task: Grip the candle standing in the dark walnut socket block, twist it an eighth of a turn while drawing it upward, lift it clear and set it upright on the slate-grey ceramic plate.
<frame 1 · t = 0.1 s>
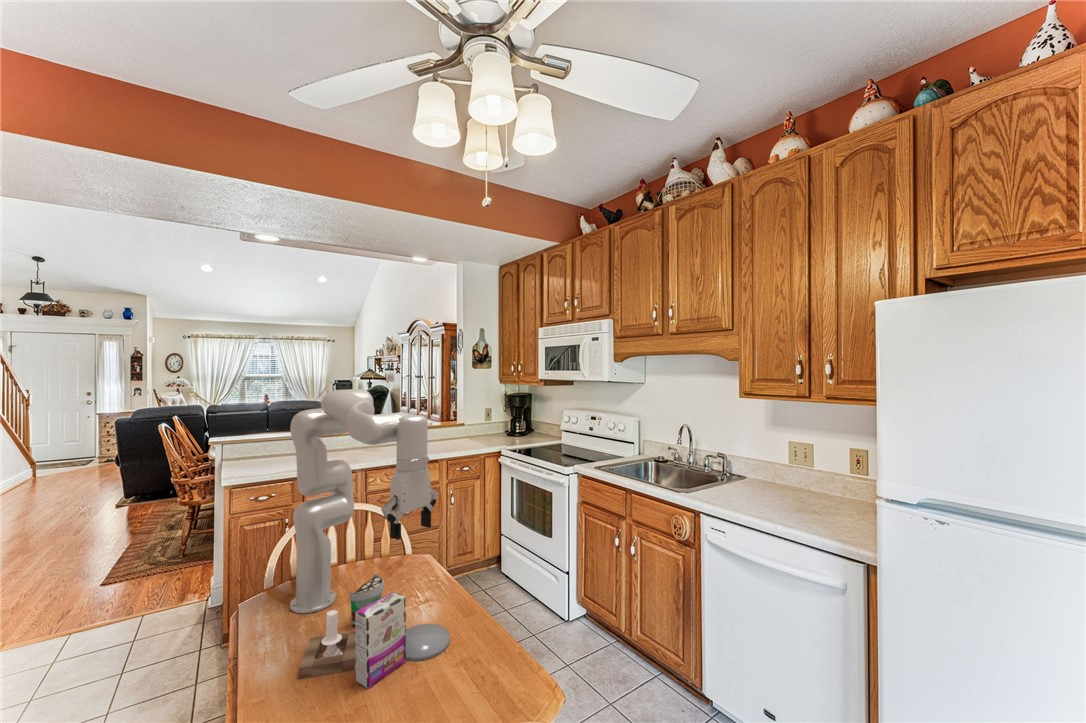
hand: (411, 532, 113), 31 cm above the table, tool pointing down, fingers open, 9 cm apart
slate plate: (422, 643, 117), on the table
food container: (371, 619, 129), on the table
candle: (331, 659, 111), resting in walnut socket
candy bar box: (380, 672, 106), on the table
walnut socket: (331, 658, 111), on the table
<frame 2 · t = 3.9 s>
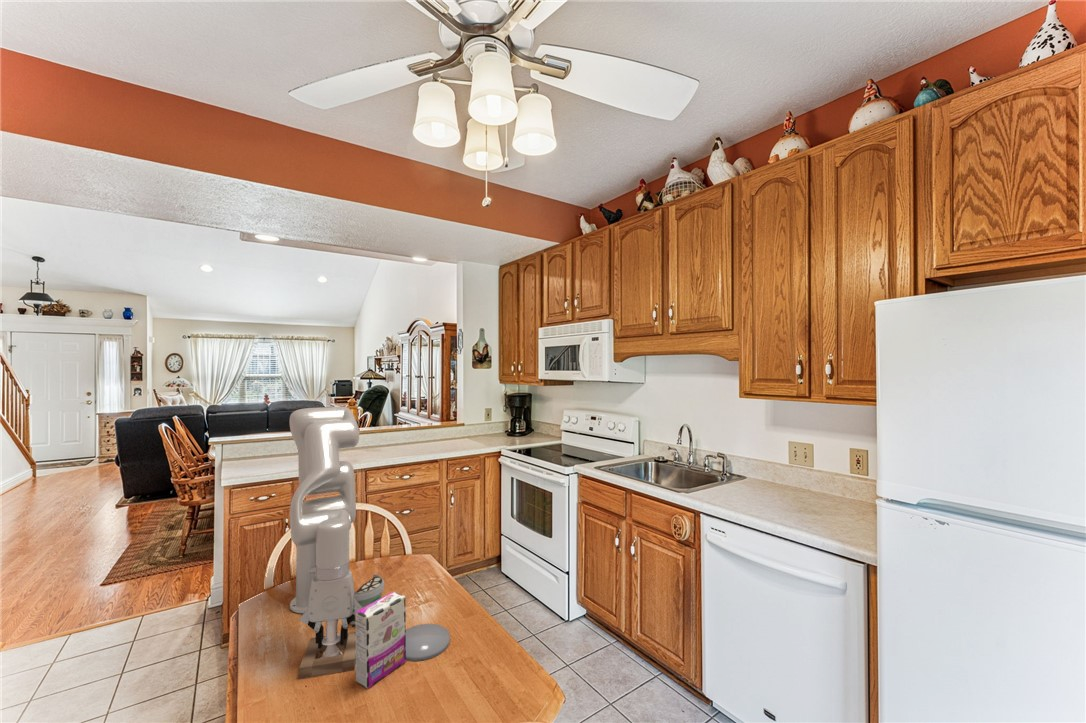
hand: (331, 642, 111), 4 cm above the table, tool pointing down, fingers closed on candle, 4 cm apart
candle: (331, 659, 111), resting in walnut socket, touching gripper
everything else where it was.
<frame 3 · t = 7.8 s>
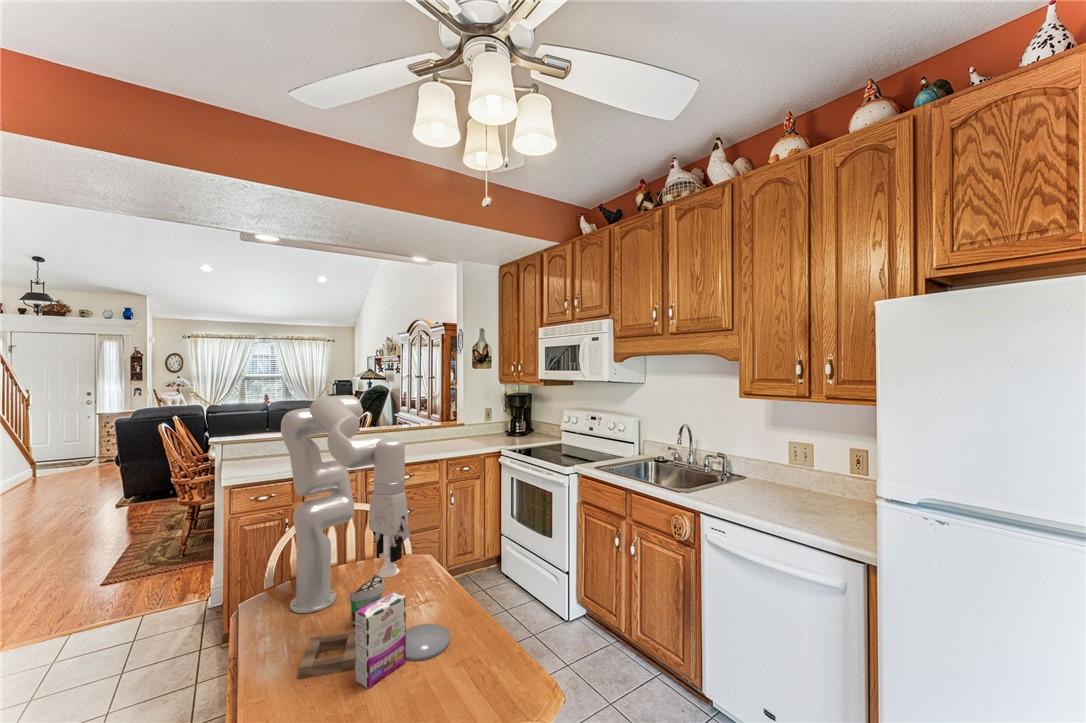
hand: (389, 557, 115), 24 cm above the table, tool pointing down, fingers closed on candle, 4 cm apart
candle: (388, 573, 115), point 20 cm above the table, touching gripper
everything else where it was.
when the fingers open (6 cm above the table, at t = 12.0 s): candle drops 1 cm, resting on slate plate.
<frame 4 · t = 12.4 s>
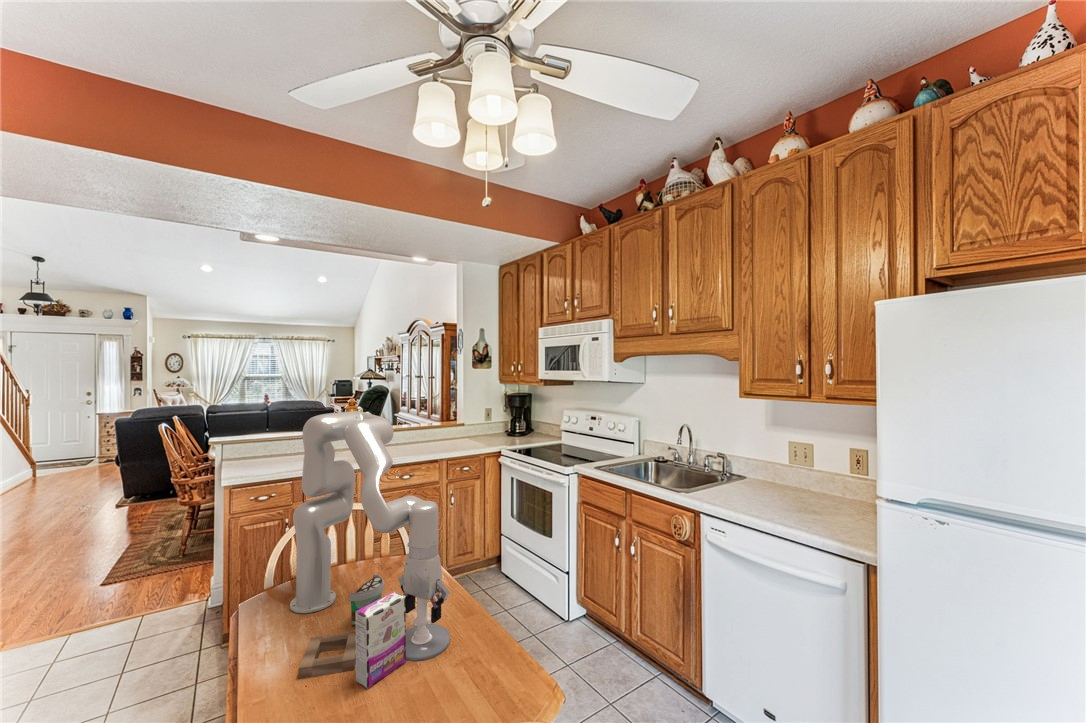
hand: (422, 615, 117), 7 cm above the table, tool pointing down, fingers open, 8 cm apart
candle: (421, 639, 117), point 1 cm above the table, touching slate plate
everything else where it was.
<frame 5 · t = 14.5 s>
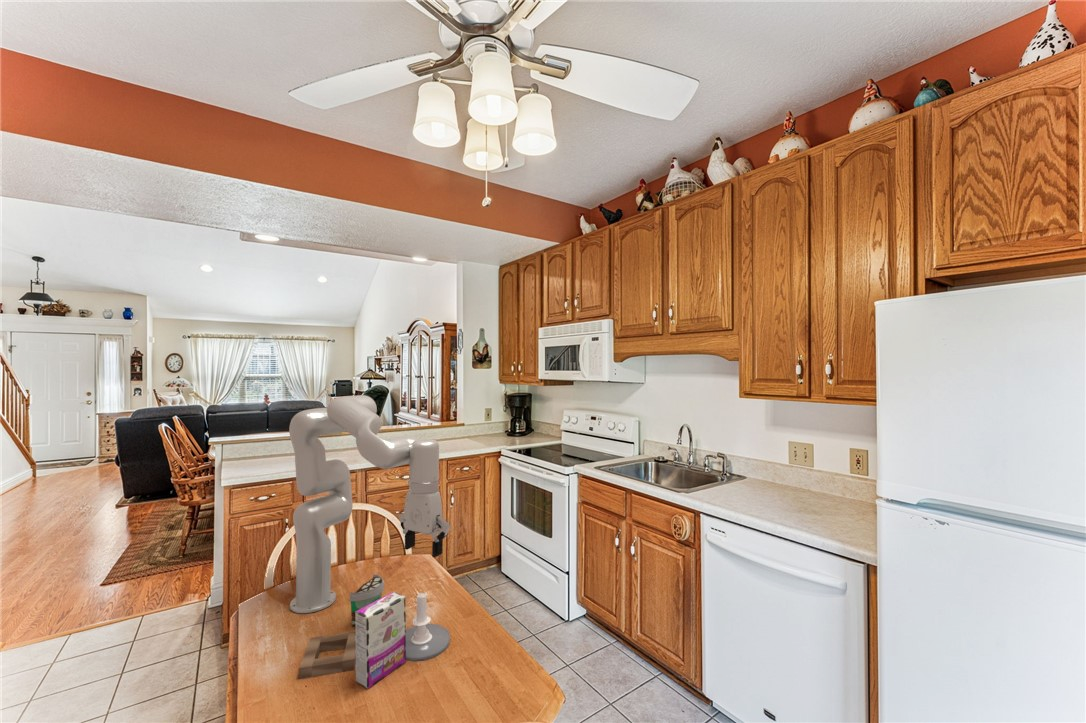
hand: (423, 551, 118), 24 cm above the table, tool pointing down, fingers open, 9 cm apart
nothing on the table moved.
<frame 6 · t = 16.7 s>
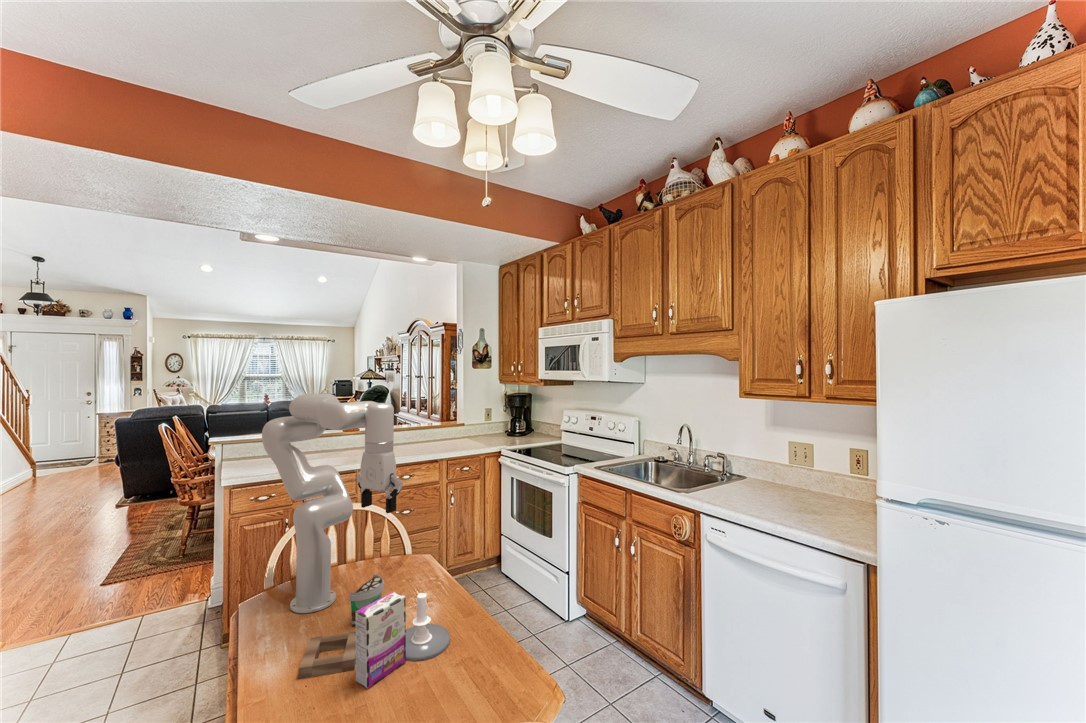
hand: (378, 509, 124), 33 cm above the table, tool pointing down, fingers open, 9 cm apart
nothing on the table moved.
at the end: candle 0.3 cm off-centre on the slate plate, point 1.0 cm above the slate plate's base; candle tilted 0°; the gripper is holding nothing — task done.
